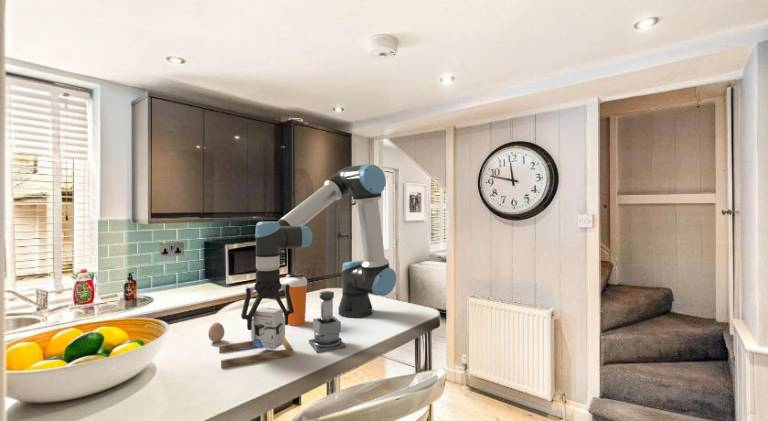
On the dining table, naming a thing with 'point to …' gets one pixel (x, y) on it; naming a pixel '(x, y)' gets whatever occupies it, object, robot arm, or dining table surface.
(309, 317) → the dining table surface
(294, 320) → the shaker bottle
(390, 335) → the dining table surface
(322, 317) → the handle peg
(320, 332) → the peg socket
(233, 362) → the bay
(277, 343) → the ink box
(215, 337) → the egg
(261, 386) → the dining table surface
